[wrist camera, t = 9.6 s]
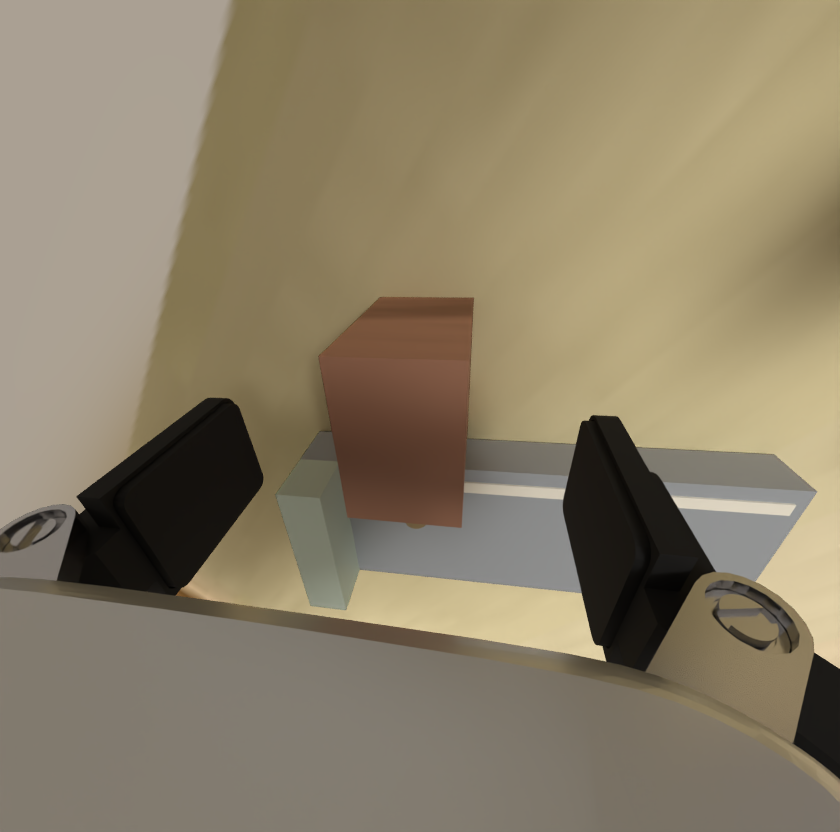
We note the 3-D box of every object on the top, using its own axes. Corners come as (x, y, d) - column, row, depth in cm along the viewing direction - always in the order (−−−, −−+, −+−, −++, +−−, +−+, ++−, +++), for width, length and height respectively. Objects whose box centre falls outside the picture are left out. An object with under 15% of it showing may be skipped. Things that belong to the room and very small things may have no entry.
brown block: (380, 297, 16) (318, 356, 10) (473, 297, 15) (469, 360, 9) (393, 455, 20) (355, 563, 14) (466, 460, 19) (459, 575, 13)
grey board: (319, 431, 20) (275, 494, 15) (774, 454, 17) (875, 541, 12) (341, 533, 24) (310, 605, 20) (709, 567, 21) (768, 662, 16)
